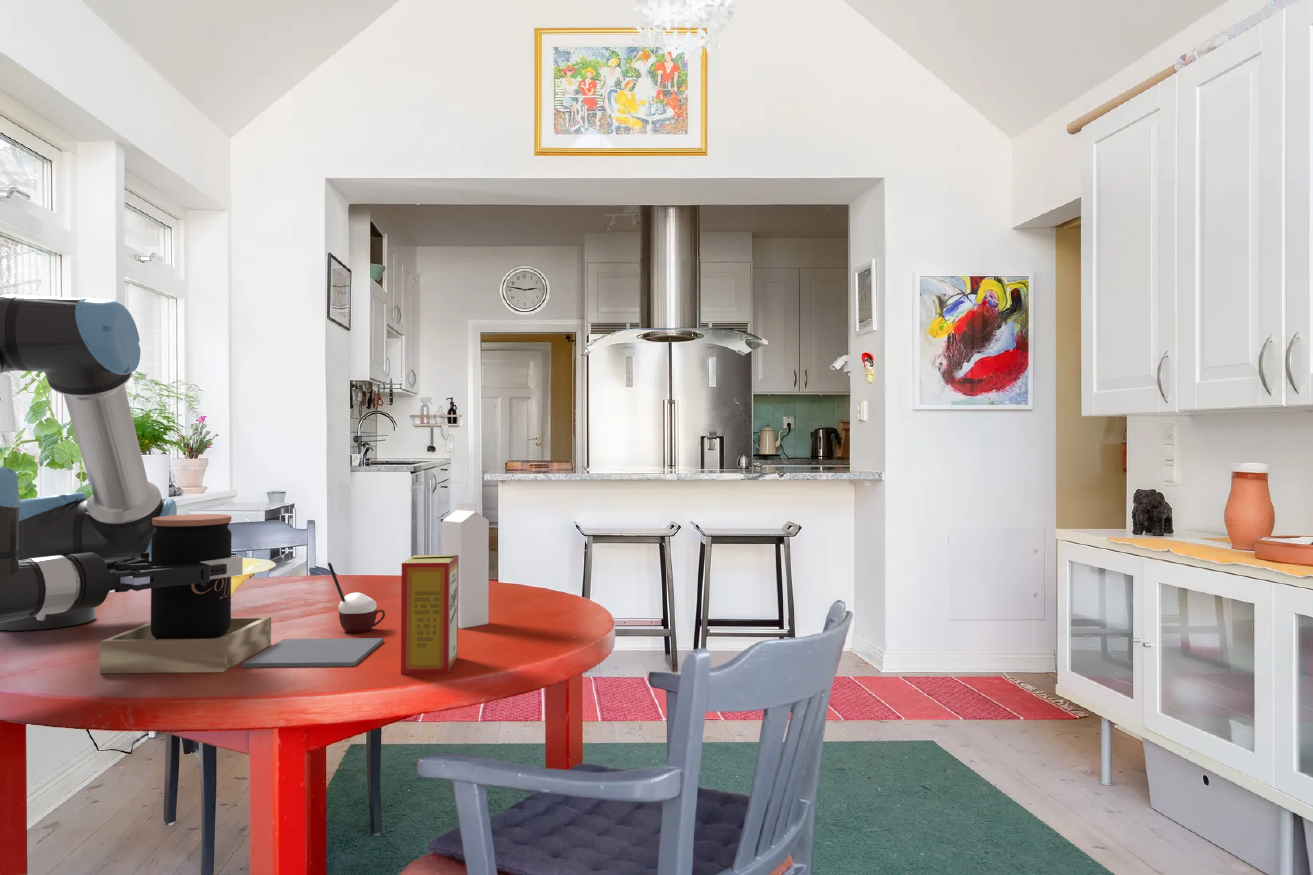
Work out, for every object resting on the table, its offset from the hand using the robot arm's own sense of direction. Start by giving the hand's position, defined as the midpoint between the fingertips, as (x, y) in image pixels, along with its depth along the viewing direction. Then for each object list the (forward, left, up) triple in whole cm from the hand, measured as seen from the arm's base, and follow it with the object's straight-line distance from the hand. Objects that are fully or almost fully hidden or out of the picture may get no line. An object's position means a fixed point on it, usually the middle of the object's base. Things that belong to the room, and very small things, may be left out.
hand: (216, 562), depth 134 cm
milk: (-21, +35, -14) cm, 43 cm away
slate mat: (+1, +16, -14) cm, 21 cm away
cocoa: (-16, +17, -14) cm, 27 cm away
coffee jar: (+3, -2, -11) cm, 11 cm away
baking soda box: (+9, +35, -14) cm, 39 cm away
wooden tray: (+3, -2, -14) cm, 14 cm away
